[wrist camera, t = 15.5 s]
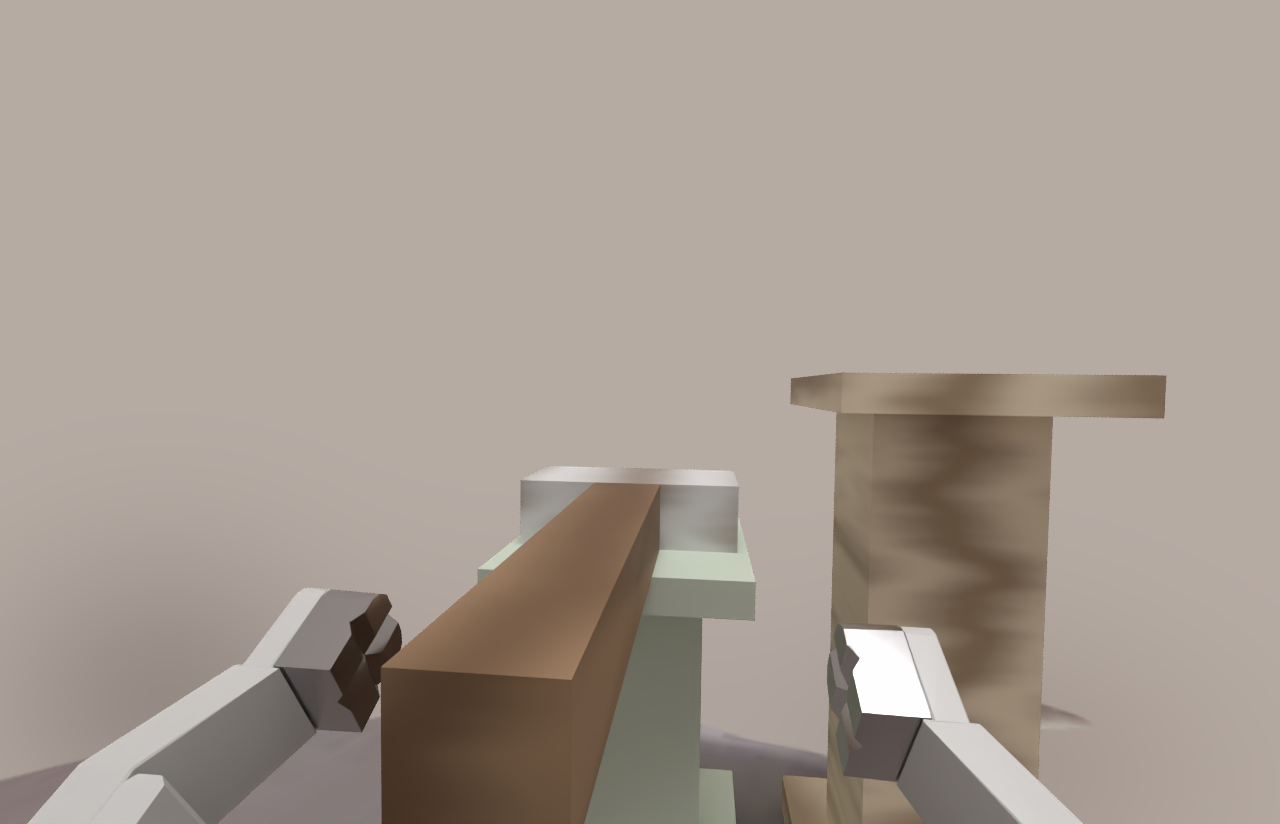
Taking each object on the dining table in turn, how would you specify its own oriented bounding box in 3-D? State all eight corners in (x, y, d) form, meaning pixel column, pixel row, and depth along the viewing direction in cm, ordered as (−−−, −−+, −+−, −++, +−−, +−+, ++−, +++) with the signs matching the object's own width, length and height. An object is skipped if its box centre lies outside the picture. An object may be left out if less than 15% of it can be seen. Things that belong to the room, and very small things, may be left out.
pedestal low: (477, 998, 24) (477, 569, 24) (556, 787, 37) (557, 505, 37) (746, 1032, 23) (755, 581, 22) (731, 802, 36) (737, 511, 35)
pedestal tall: (824, 1043, 23) (842, 372, 22) (781, 807, 36) (791, 378, 35) (1131, 1082, 22) (1166, 375, 21) (972, 823, 35) (988, 380, 34)
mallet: (177, 834, 10) (174, 653, 9) (548, 520, 32) (548, 465, 32) (807, 899, 9) (812, 696, 8) (731, 526, 31) (732, 470, 31)
